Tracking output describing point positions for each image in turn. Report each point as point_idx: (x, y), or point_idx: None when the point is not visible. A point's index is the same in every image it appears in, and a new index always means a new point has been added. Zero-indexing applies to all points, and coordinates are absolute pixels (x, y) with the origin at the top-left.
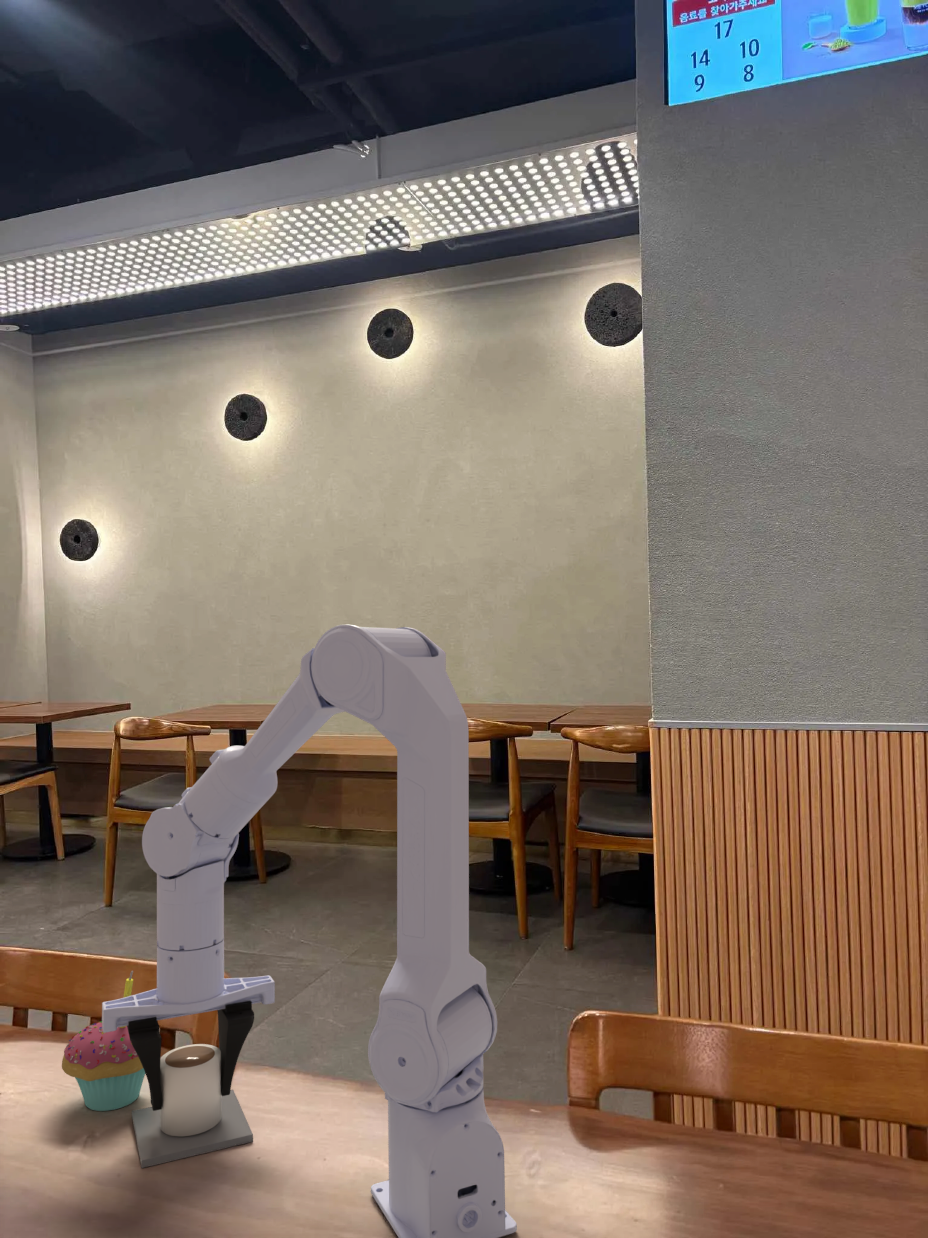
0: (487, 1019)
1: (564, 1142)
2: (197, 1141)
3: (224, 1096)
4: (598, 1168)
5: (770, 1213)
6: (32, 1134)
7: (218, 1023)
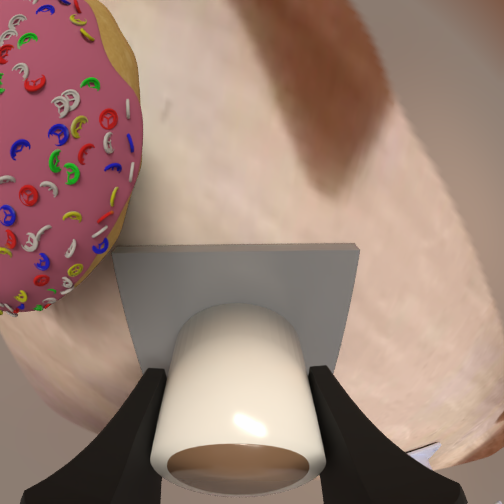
0: None
1: (497, 415)
2: None
3: (331, 276)
4: (480, 435)
5: (480, 455)
6: None
7: (362, 487)
